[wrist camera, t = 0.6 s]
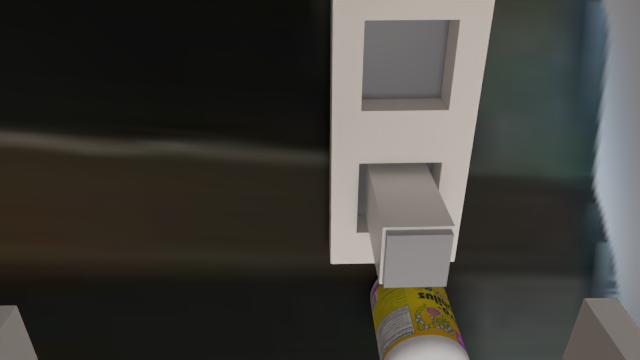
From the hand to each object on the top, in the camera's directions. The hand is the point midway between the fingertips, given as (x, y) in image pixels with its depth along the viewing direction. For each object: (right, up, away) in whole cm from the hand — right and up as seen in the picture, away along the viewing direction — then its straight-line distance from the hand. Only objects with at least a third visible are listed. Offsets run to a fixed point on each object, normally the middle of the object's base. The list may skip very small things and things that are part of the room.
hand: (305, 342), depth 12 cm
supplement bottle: (+8, -6, +34) cm, 36 cm away
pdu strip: (+6, +8, +26) cm, 28 cm away
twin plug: (+6, +4, +28) cm, 29 cm away
